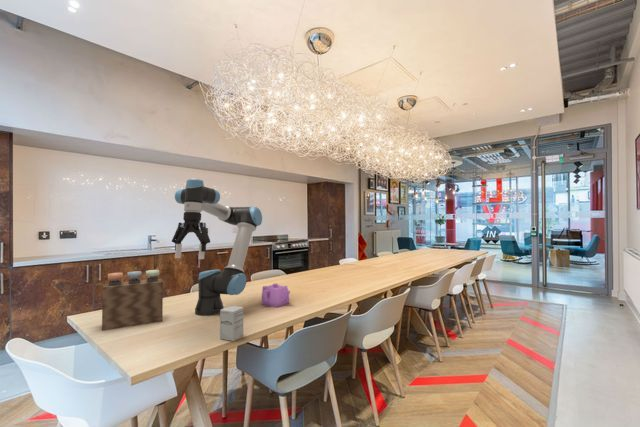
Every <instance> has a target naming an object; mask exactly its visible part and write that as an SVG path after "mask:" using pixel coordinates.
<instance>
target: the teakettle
mask: <svg viewBox="0 0 640 427" xmlns="http://www.w3.org/2000/svg"><path fill="white" fill-rule="evenodd" d="M290 293H291V291H290V290H289V288H288V286H287V285H280V284H279V283H273V284H270V285H268V286H267V285H263V286H262V291H261V304H262V305H263V306H267V307H272V308H279V307H283V306H286V305H288V304H289V303H290Z"/></svg>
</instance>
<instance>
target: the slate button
mask: <svg viewBox="0 0 640 427" xmlns="http://www.w3.org/2000/svg"><path fill="white" fill-rule="evenodd" d="M126 273H127V276H126V277H127V279H132V280H137V279H138V278H141V277H142V271H141V270H136V271H127V272H126Z"/></svg>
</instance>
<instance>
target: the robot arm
mask: <svg viewBox="0 0 640 427" xmlns="http://www.w3.org/2000/svg"><path fill="white" fill-rule="evenodd" d="M220 199H221V194H220V192H219V191H218V190H217V189H214V188H210V187H207V186H205V184H204V180H202V179H200V178H188V179H187V180H186V183H185V188H181V189H178V190H176V191H175V193H174V200H175V202H176V203H178V204H182V205H184V207H183V210H184V212H183V221H184V222H178V224H177V228H176V231H175V232H174V235H173V237H172V239H171V243H174V244H175V245H174V251H175V252H174V253H175V255H174V259H181V258H182V246H183V244H182V242H183V241H184V239H185V238H186V236H187V235H188V234H189V233H194V234H195V236H196V237H197V240H198V241H199V242H200V243H199V245H198V258H197V259H198V260H205V253H206V252H207V251H206V250H207V244H210V243H211V239H210V235H209V233H208V231H207V227H206V226H207V225H206V222H202V221H201V220H202V212H205V213H207V214H210V215H212V216H214V217H217V219H218V220H220V221H221V222H224V223H227V224H229V225H232V226H236V227H237V232H236V236H235V239H234V242H233V245H232V250H231V253H230V256H229V260H228V263H227V265H226V266H224V267H223V270H221V269H219V268H218V269H211V270H210V269H209V270H205V271H201V272H199V273H198V281H197V282H198V284H197V285H198V297H197V298H198V299H197V303H196V306H195V308H194V313H195V315H198V316H212V315H218V314H220V310H221V309H224V308H225V307H224V304H223V301H222V297H221V295H226V296H227V295H229V296H238V295H240V294H241V293H242V292H243V291H244V290H245V288H246V286H247V276H246V275H245V270H244V265H245V263H246V262H245V261H246V258H247V254H248V250H249V246H250V243H251V239H252V235H253V232H255V231H256V230H257V227H259V226H261V225H262V223H263V214H262V210H261V209H260V208H259V207H257V206H244V207H243V206H228V205H222V204H221V203H219V202H220Z"/></svg>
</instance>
